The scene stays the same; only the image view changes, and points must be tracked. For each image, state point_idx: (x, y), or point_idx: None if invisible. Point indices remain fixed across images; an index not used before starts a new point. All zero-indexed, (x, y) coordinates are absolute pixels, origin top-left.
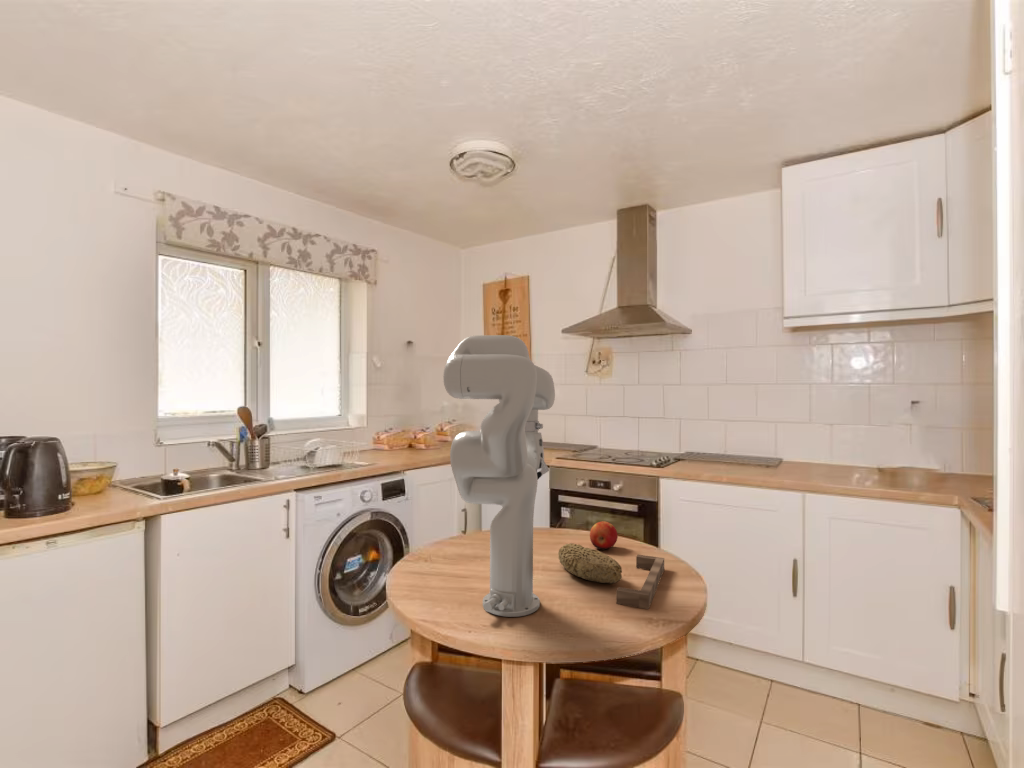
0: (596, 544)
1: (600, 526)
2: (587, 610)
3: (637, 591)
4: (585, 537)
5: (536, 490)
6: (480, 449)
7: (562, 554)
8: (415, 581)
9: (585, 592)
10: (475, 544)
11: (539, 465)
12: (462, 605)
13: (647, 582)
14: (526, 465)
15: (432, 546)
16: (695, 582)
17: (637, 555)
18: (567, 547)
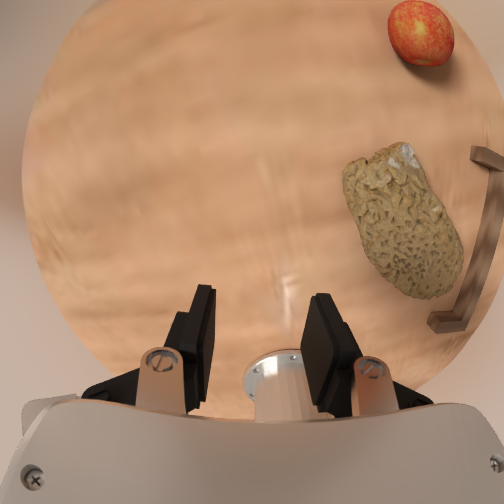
0: (407, 61)
1: (436, 42)
2: (388, 354)
3: (457, 325)
4: None
5: (347, 326)
6: None
7: (364, 228)
8: (108, 344)
9: (392, 304)
10: (85, 108)
11: (451, 417)
12: (219, 393)
13: (477, 289)
14: None
15: (25, 172)
16: None
17: (485, 153)
18: (377, 199)
